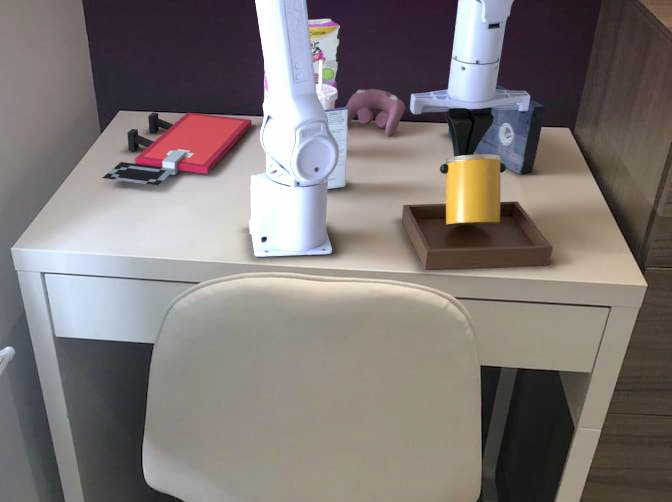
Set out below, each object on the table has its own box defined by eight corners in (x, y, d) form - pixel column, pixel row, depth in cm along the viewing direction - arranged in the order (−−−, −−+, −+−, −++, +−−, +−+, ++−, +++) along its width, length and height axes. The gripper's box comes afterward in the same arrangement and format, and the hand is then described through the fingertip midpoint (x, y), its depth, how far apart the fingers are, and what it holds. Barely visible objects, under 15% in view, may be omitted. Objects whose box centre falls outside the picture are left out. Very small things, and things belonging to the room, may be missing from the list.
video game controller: (399, 140, 138) (411, 97, 137) (390, 135, 134) (402, 91, 133) (347, 129, 143) (358, 87, 141) (336, 124, 139) (347, 81, 137)
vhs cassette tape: (534, 172, 124) (547, 105, 118) (517, 175, 123) (530, 107, 117) (461, 133, 137) (470, 70, 131) (446, 135, 136) (454, 73, 130)
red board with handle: (90, 182, 119) (190, 196, 116) (88, 163, 117) (189, 176, 114) (167, 118, 142) (251, 128, 140) (166, 101, 141) (251, 111, 138)
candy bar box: (271, 135, 136) (272, 29, 126) (263, 125, 140) (262, 21, 130) (336, 128, 138) (341, 24, 129) (325, 118, 142) (330, 16, 133)
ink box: (340, 182, 120) (344, 101, 113) (346, 188, 118) (351, 107, 112) (264, 191, 117) (264, 109, 111) (269, 198, 116) (269, 115, 109)
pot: (439, 250, 105) (457, 191, 96) (425, 192, 110) (441, 130, 102) (503, 249, 105) (527, 189, 97) (486, 191, 111) (507, 130, 103)
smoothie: (331, 162, 126) (336, 67, 118) (290, 158, 127) (291, 64, 119) (337, 147, 131) (342, 55, 123) (297, 144, 132) (299, 52, 124)
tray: (424, 269, 99) (426, 251, 98) (401, 221, 110) (403, 204, 108) (549, 265, 100) (553, 247, 99) (514, 217, 111) (517, 201, 109)
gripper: (523, 47, 104) (506, 152, 112) (409, 50, 103) (399, 156, 111) (543, 63, 98) (523, 173, 106) (422, 66, 97) (411, 177, 105)
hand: (461, 166), depth 108 cm, fingers closed, pressing on pot
